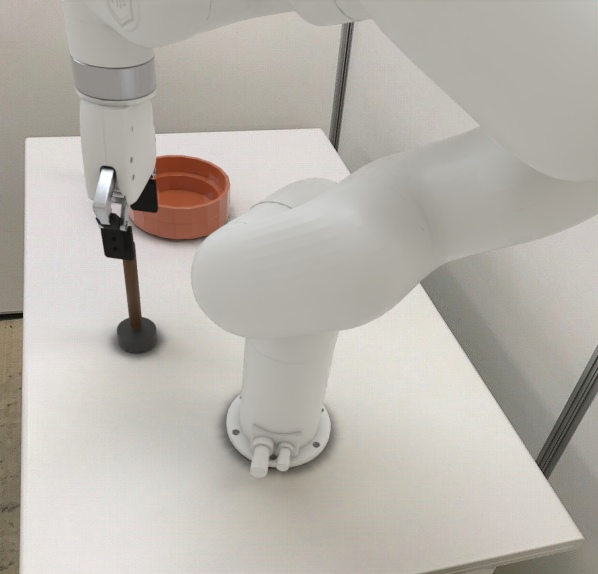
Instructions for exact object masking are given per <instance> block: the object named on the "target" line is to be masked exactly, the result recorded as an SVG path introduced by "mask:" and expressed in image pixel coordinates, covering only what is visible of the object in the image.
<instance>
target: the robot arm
mask: <svg viewBox="0 0 598 574" xmlns="http://www.w3.org/2000/svg"><path fill="white" fill-rule="evenodd" d="M60 3H61V9H62V15H63V21H64V27H65V34H66V40H67V47H68V52H69V59H70V66H71V71H72V78H73V82H74V83H73V84H74V91H75V93H76V95H77V96H78V97H79V98H80V100H79V135H80V146H81V147H80V148H81V155H82V156H81V157H82V166H83V175H84V183H85V189H86V195H87V197H88V198H89V200H90V201H92V211H93V214H94V216H95V220H96V223H97V225H98V228H99V229H100V236H101V242H102V248H103V249H102V250H103V254H104V257H106V258H109V259H115V260H122V261H123V260H129V261H132V260H134V258H135V249H134V242H135V241H134V234H133V226H132V225H129V222H130V221H129V219H130V216H129V212H130V207H131V209H132V210H136V211H143V212H150V213H156V212H157V211H158V196H157V183H156V180H153V179H151V178H155V177H156V168H155V164H156V157H157V139H156V128H155V118H154V111H153V110H154V109H153V104H152V99H154V98H155V97H156V95H157V94H158V84H157V71H156V57H155V56H156V55H155V49H159V48H163V47H164V48H165V47H167V46H168V47H169V46H170V45H174V44H176V43H180V42H182V41H186V40H188V39H191V38H194V37H195V36H198V35H201V34H203V33H207V32H210V31H213V30H215V29H219V28H222V27H226V26H229V25H232V24H236V23H239V22H243V21H247V20H251V19H256V18H262V17H268V16H273V15H278V14H284V13H292V12H295V13H296V14H297V15H298V17H300V18H301V19H302V20H304V21H305V22H307V23H308V24H310V25H313V26H316V27H331V26H337V25H342V24H349V23H357V22H363V21H368V20H372V21H373V23H374V24H375V25H376V26H377V27H378V28H379V30H380V31H381V32H382V33H383V34H384V35H385V36H386V37H387V39H388V40H389V41H391V42H392V43H393V44H394V45H395V46H396V47H397V49H399V51H400V52H401V53H402V54H403V55H404V56H405V57H406V58H407V59H409V60H410V62H412V63H413V65H415V66H416V67H417V68H418V69H419V70H420V71H421V72H422V73H423V74H424V75H425V76H426V77H427V78H429V80H431V81H432V82H433V83H434V84H435V85H436V86H437V87H438V88H439V89H440V90H441V91H443V92H444V93H445V94H446V95H447V96H448V97H449V98H450V99H451V100H452V101H453V102H454V103H456V105H458V106H459V107H460V108H461V109H462V110H463V111H464V112H465V113H466V114H467V115H468V116H470V118H472V120H474V122H476V124H478V125H479V126H477V127H475V128H472V129H470V130H468V131H465V132H461V133H459V134H456V135H452V136H450V137H446V138H444V139H440V140H437V141H434V142H430V143H428V144H425V145H422V146H419V147H415V148H412V149H409V150H405V151H401V152H396V153H393V154H389V155H385V156H382V157H380V158H376V159H375V160H374V159H373V160H372V161H370V162H368V163H366V164H365V165H363V166H361V167H359V168H357V169H356V170H355V171H353V172H352V173H350V174H349V175H346V176H345V177H344V178H343V179H341V180H340V181H338V182H336V181H333V180H332V179H328V178H323V177H309V178H304V179H299V180H297V181H294V182H291V183H289V184H287V185H284V186H283V187H281V188H278V190H276V191H274V192H273V193H271V194H270V195H268V196H266V197H265V198H263V199H261V200H260V201H259V202H257V203H256V204H254V205H252V206H251V207H250V208H249V209H247V210H246V211H244V212H243V213H241V214H239V215H238V216H236V217H235V218H233V219H232V220H230V221H229V222H226V223H225V224H224V225H223V226H222V227H220V228H219V229H217V230H216V231H215V232H213V233H211V234H209V235H207V236H206V237H205V239H204V240H203V241H202V242H201V243H200V245H199V246H198V248H197V249H196V252H195V254H194V256H193V258H192V262H191V268H190V285H191V290H192V294H193V296H194V299H195V301H196V304H197V305H198V307H199V308H200V310H201V311H202V312H203V314H204V315H205V316H206V317H207V318H208V319H209V320H210V321H211V322H212V323H213V324H215V325H216V326H217V327H219V328H220V329H222V330H223V331H226V332H227V333H230V334H232V335H234V336H237V337H241V338H244V349H243V350H244V351H243V364H242V365H243V366H242V377H241V378H242V380H241V392H240V393H239V394H238V395H237V396H236V397H235V398H234V400H232V402H231V404H230V406H229V408H228V410H227V413H226V422H225V426H226V433H227V436H228V439H229V441H230V443H231V444H232V446H233V447H234V448H235V450H237V451H238V452H239V454H240V455H242V456H243V457H245V458H247V459H248V460H249V461H250V468H249V474H250V476H252V477H254V478H256V479H264V478H266V477H267V476H268V472H269V468H275V469H276V470H278V471H279V472H287V471H288V470H290V469H289V468H294V467H299V466H302V465H304V464H307V463H309V462H311V461H312V460H314V459H315V458H317V457H318V456H319V455H320V454H321V453H322V452H323V451H324V449H325V448H326V446H327V445H328V442H329V440H330V435H331V430H332V425H331V422H332V421H331V419H330V414H329V413H328V412H329V411H328V410H327V409H326V406H325V405H324V401H325V396H326V391H327V386H328V383H329V378H330V374H331V373H330V372H331V367H332V363H333V358H334V355H335V349H336V344H337V342H338V337H339V332H342V331H347V330H352V329H355V328H359V327H361V326H364V325H367V324H369V323H371V322H373V321H375V320H378V319H379V318H381V317H383V316H384V315H385V314H387V313H388V312H390V311H391V310H392V309H394V308H395V307H396V306H397V305H398V304H399V303H401V302H402V301H403V300H404V299H405V298H406V296H408V295H409V294H410V293H411V292H412V291H413V290H414V288H416V287H417V286H418V285H419V284H420V283H422V281H423V280H424V279H425V278H426V277H428V276H429V275H430V274H431V273H433V272H434V271H435V270H437V269H438V268H439V267H441V266H443V265H445V264H448V263H450V262H454V261H456V260H460V259H464V258H468V257H472V256H477V255H482V254H487V253H491V252H494V251H499V250H501V249H505V248H509V247H515V246H517V245H522V244H526V243H530V242H533V241H537V240H541V239H543V238H546V237H550V236H552V235H555V234H558V233H561V232H563V231H566V230H569V229H571V228H573V227H575V226H577V225H580V224H582V223H584V222H586V221H588V220H590V219H592V218H593V217H595V216H597V215H598V0H60ZM115 191H116V192H115ZM114 192H115V193H119V192H121V193H120V194H121V195H122V196H123V197H120V196H115V195H114ZM113 195H114V196H113ZM112 205H117V206H120V207H121V208H120V216H119V215H118V214H117V213H116V212H113V208H112Z"/></svg>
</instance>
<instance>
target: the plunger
mask: <svg viewBox="0 0 598 574" xmlns="http://www.w3.org/2000/svg"><path fill="white" fill-rule="evenodd" d="M134 249H135V258H134V260H132V261H129V260H122V268H123V277H124V286H125V296H126V303H127V312H128V317H126V318H125V319H123V320H122V321H120V322H119V324H118V325H117V327H116V335H117V336H116V337H117V343H118V345H119V347H120V348H121V350H123V351H125V352H127V353H131V354H143V353H147V352H149V351H150V350H152V349H153V348H154V347H156V344H157V342H158V334H157V326H156V324H155V323H154V321H153V320H151V319H150V318H147V317H144V316H143V315H142V305H141V292H140V283H139V282H140V281H139V271H138V261H137V250H136V249H137V248H136V243H135V241H134Z"/></svg>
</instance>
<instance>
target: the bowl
mask: <svg viewBox="0 0 598 574" xmlns="http://www.w3.org/2000/svg"><path fill="white" fill-rule="evenodd" d="M155 168H156V177H155V178H151V179H153V180H156V183H157V196H158V211H157V212H156V213H150V212H143V211H136V210H132V209H131V207H130V212H129V219H131V220H132V222H133V224H134V225H135V226H137V227H138V228H140V229H141V230H143V231H144V232H146V233H149V234H151V235H154V236H155V237H156V236H157V237H159V238H166V239H171V240H172V239H173V240H193V239H197V238H201V237H208V236H209V235H210V234H212V233H213V232H215V231H216V230H217V229H219V228H220V227H222V226H224V225H225V224H227V223H228V219H229V216H230V211H231V209H230V206H231V205H230V204H231V202H230V201H231V182H230V177H229V175H228V174H227V173H226V172H225V171H224V169H223V168H222V167H220V166H219V165H217V164H215V163H213V162H212V161H209V160H206V159H203V158H201V157H196V156H190V155H184V154H164V155H156V164H155Z"/></svg>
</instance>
